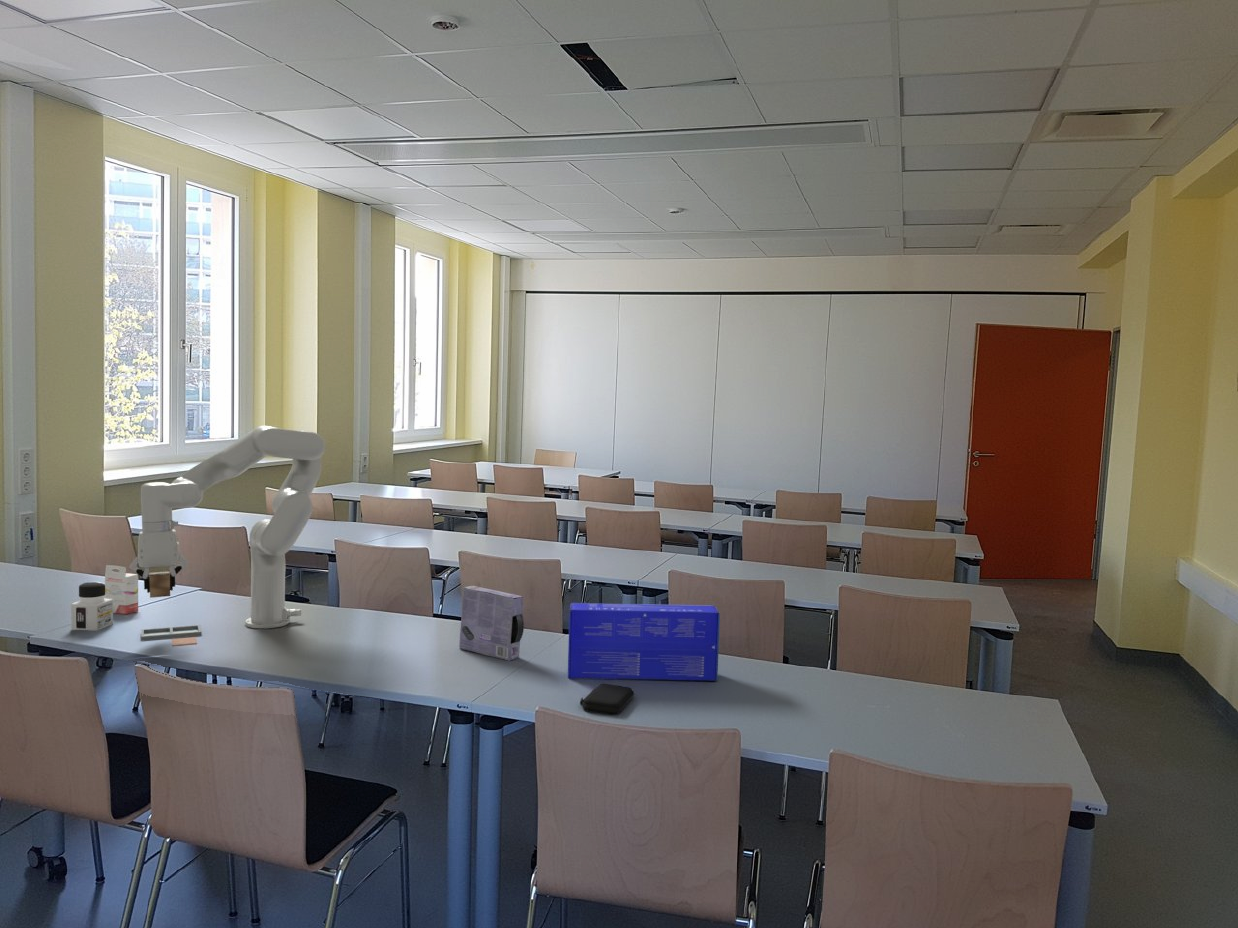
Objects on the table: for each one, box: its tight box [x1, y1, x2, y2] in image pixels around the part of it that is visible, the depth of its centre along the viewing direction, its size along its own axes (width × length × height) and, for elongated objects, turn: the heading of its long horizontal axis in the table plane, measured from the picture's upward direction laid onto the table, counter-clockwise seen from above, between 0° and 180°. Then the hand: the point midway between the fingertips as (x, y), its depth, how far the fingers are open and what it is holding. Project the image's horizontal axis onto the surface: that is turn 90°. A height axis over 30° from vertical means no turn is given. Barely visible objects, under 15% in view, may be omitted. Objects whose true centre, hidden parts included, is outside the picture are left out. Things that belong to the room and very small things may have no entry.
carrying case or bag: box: [579, 683, 635, 716], centre depth 208 cm, size 11×3×15 cm
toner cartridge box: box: [567, 602, 721, 682], centre depth 229 cm, size 39×8×18 cm, turn 93°
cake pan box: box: [458, 585, 525, 662], centre depth 243 cm, size 19×5×18 cm, turn 59°
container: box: [70, 581, 114, 631], centre depth 253 cm, size 8×8×13 cm
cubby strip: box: [140, 624, 202, 641], centre depth 249 cm, size 15×8×1 cm, turn 118°
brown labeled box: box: [148, 570, 171, 599], centre depth 246 cm, size 5×5×6 cm
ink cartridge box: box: [104, 564, 139, 615], centre depth 271 cm, size 9×5×15 cm, turn 73°
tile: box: [171, 636, 198, 647], centre depth 242 cm, size 6×6×1 cm
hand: (160, 589), depth 246 cm, fingers closed on brown labeled box, 5 cm apart
